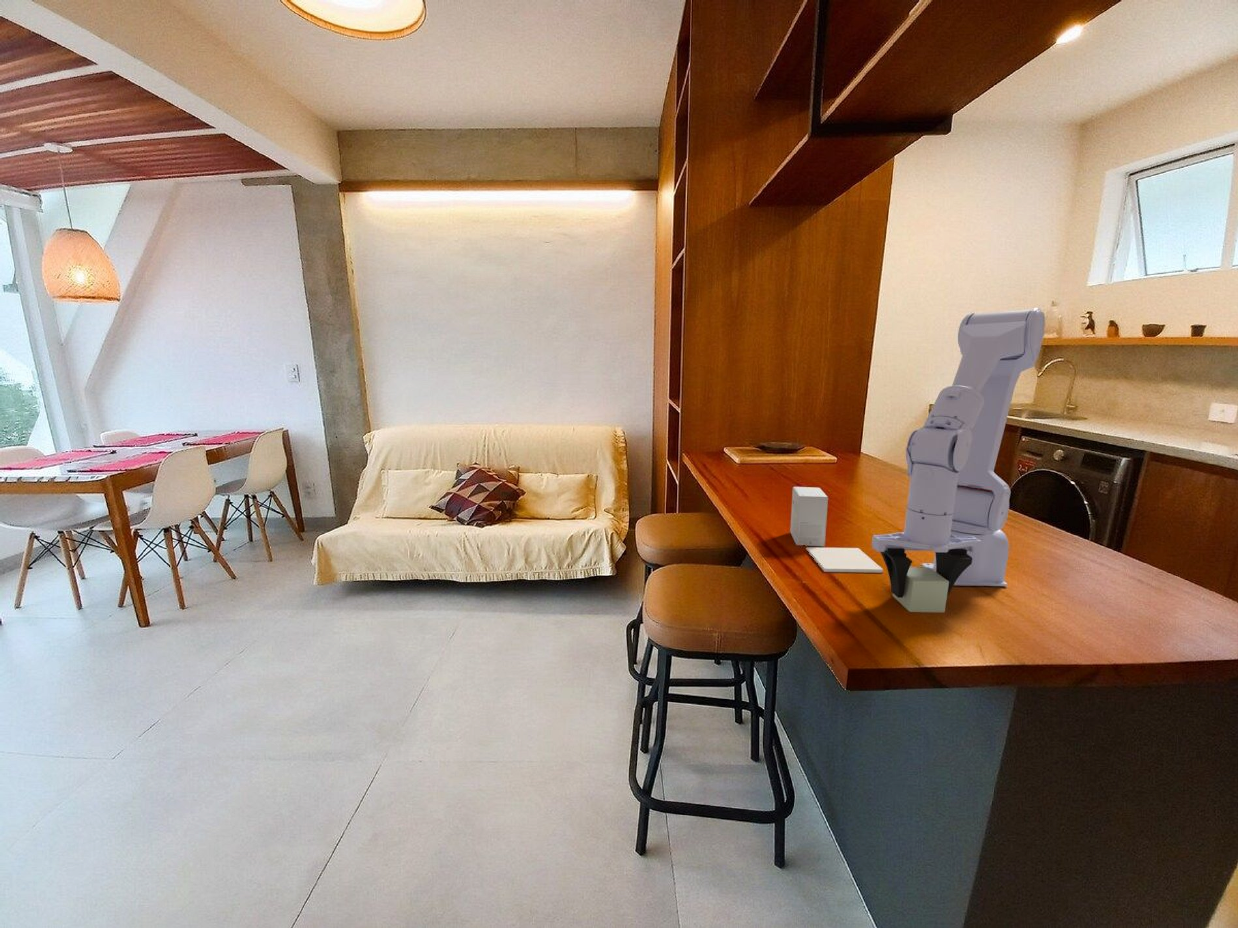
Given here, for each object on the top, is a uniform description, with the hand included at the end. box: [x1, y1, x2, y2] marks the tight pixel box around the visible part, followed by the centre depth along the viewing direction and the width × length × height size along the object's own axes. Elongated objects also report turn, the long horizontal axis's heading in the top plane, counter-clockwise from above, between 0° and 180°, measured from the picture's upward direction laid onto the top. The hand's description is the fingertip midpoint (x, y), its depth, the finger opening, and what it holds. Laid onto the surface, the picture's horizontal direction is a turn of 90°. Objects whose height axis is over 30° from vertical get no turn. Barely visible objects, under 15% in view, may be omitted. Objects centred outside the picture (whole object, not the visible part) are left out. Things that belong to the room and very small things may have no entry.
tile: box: [805, 546, 884, 574], centre depth 88 cm, size 10×10×1 cm
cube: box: [892, 566, 949, 613], centre depth 72 cm, size 5×5×5 cm
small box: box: [789, 486, 829, 547], centre depth 98 cm, size 8×6×10 cm
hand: (918, 594), depth 72 cm, fingers open, 6 cm apart
